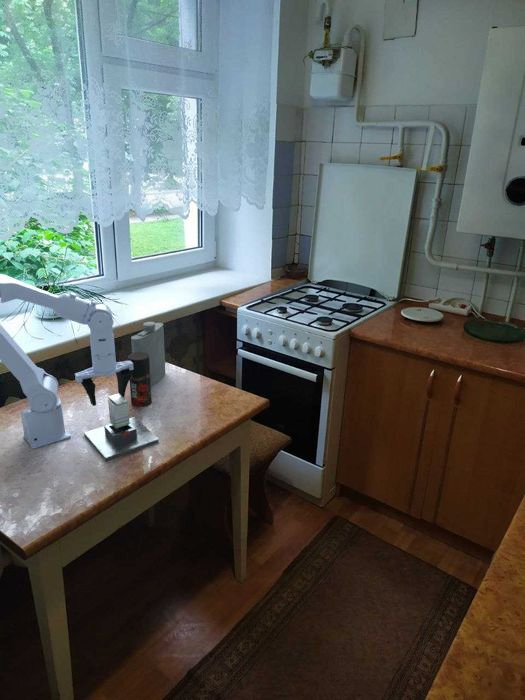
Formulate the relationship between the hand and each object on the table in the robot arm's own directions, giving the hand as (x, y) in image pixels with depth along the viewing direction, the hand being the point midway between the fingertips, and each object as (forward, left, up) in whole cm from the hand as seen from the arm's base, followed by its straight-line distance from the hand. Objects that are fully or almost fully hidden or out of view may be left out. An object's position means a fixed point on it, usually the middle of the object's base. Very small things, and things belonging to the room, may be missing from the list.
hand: (107, 400), depth 129 cm
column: (0, -7, -5) cm, 8 cm away
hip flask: (+22, +19, -9) cm, 30 cm away
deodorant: (+13, +8, -9) cm, 18 cm away
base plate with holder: (0, -7, -8) cm, 11 cm away
